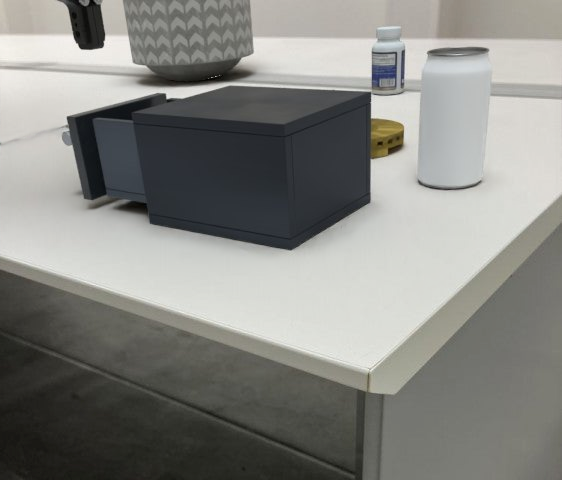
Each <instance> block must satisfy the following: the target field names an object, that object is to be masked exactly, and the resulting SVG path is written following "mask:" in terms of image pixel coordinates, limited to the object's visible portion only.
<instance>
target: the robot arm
mask: <svg viewBox="0 0 562 480" xmlns="http://www.w3.org/2000/svg"><path fill="white" fill-rule="evenodd" d="M56 1H57V2H60V3H63V4H64V5H65V6H66V7H67V10H68V14H69V20H70V26H71V31H72V36H73V40H74V42H75V44H77V46H78V48H79V49H80V50H82V51H92V50H100V49H104V47H105V41H106V30H105V25H104V18H103V11H102V3H103V0H56Z"/></svg>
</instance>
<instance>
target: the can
mask: <svg viewBox="0 0 562 480" xmlns="http://www.w3.org/2000/svg"><path fill="white" fill-rule="evenodd" d="M489 52H490V48H489V47H485V46H484V47H483V46H447V47H439V48H433V49H429V50H427V51H426V55H427V57H426V60H425V62H424V63H423V66H422V69H421V76H420V92H419V93H420V94H419V95H420V97H419V120H418V141H417V165H416V167H417V169H416V170H417V171H416V177H417V180H418V181H419V183H420V184H421V185H423V186H426V187H428V188H432V189H433V188H434V189H439V190H441V189H442V190H457V189H459V190H460V189H466V188H470V187H473V186H476V185H478V183H479V182H480V181H481V180H482V179H483V175H484V167H485V158H486V157H485V156H486V147H487V135H488V126H489V115H490V104H491V103H490V102H491V92H492V80H493V65H492V62H491V60H490V56H489Z"/></svg>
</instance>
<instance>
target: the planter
mask: <svg viewBox="0 0 562 480" xmlns="http://www.w3.org/2000/svg"><path fill="white" fill-rule="evenodd" d="M122 4H123V10H124V17H125V23H126V29H127V36H128V42H129V47H130V54H131V60H132V63H133V64H134V65H136V66H137V65H138V66H146V67H147V69H148V70H150V71H151V72H152V73H154V74H155V75H157V76H159V77H162V78H164V79H167V80H169V81H172V80H174V81H173V82H181V81H186V82H199V80H201V81H204V80H203V79H208V78H211V77H215V76H219V75H222V76H224V75H225V74H227V73H228V72H231V71H232V70H233V69H234V68H235V67H236V66H237V65H238V64H239V63H240V62H241V60H242V58H246V57H249V56H251V55H253V54H254V53H255V50H254V49H255V48H254V47H255V46H254V36H253V35H254V34H253V22H252V20H253V19H252V10H251V9H252V8H251V0H122ZM223 74H224V75H223ZM208 80H209V79H208Z"/></svg>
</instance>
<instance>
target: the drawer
mask: <svg viewBox="0 0 562 480" xmlns="http://www.w3.org/2000/svg"><path fill="white" fill-rule="evenodd" d="M179 99H183V97H182V98H181V97H180V98H179V97H170V98H167V93H166V92H156V93H152V94H148V95H144V96H141V97H137V98H133V99H132V98H131V99H129V100H125V101H121V102H118V103H114V104H110V105H105V106H102V107H98V108H94V109H90V110H85V111H83V112H79V113H75V114H71V115H66V117H65V118H66V122H67V128H68V130H66V131H63V132H62V134H61V140H62V142H63V144H64V145H65V146H67V147H71V146H72V151H73V155H74V159H75V164H76V168H77V173H78V179H79V182H80V187H81V190H82V191H81V192H82V196H83V199H84V200H87V201H95V200H97V199H101V198H102V197H106V196H107V197H108V198H114V199H119V200H125V201H130V202H131V201H132V202H137V203H142V204H143V203H144V204H147V203H146V197H145V191H144V185H143V179H142V173H141V167H140V161H139V155H138V149H137V143H136V137H135V131H134V125H133V124H134V123H133V120H132V114H131V113H132V112H136V111H139V110H143V109H147V108H150V107H154V106H157V105H161V104H165V103H168V102H172V101H176V100H179Z"/></svg>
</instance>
